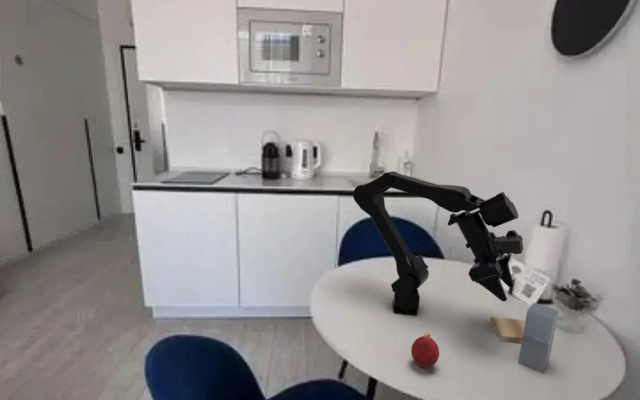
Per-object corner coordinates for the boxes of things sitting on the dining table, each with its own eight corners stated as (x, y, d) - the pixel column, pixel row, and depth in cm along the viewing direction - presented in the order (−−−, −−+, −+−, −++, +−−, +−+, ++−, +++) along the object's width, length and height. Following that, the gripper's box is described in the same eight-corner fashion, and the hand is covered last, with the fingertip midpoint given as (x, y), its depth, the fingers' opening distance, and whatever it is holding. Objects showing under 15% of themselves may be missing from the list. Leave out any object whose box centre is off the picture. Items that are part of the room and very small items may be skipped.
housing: (518, 362, 83) (527, 310, 81) (524, 353, 87) (533, 302, 84) (543, 373, 80) (553, 319, 77) (548, 363, 84) (558, 310, 81)
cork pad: (501, 341, 91) (502, 335, 91) (490, 321, 100) (490, 316, 100) (540, 345, 90) (541, 339, 90) (525, 325, 99) (526, 320, 99)
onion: (432, 379, 77) (437, 345, 75) (406, 369, 80) (409, 336, 78) (440, 364, 82) (444, 332, 80) (414, 355, 85) (418, 323, 83)
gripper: (501, 230, 78) (539, 299, 76) (515, 213, 93) (547, 270, 91) (454, 248, 85) (487, 312, 83) (474, 230, 100) (502, 283, 98)
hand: (508, 293), depth 88 cm, fingers open, 9 cm apart
